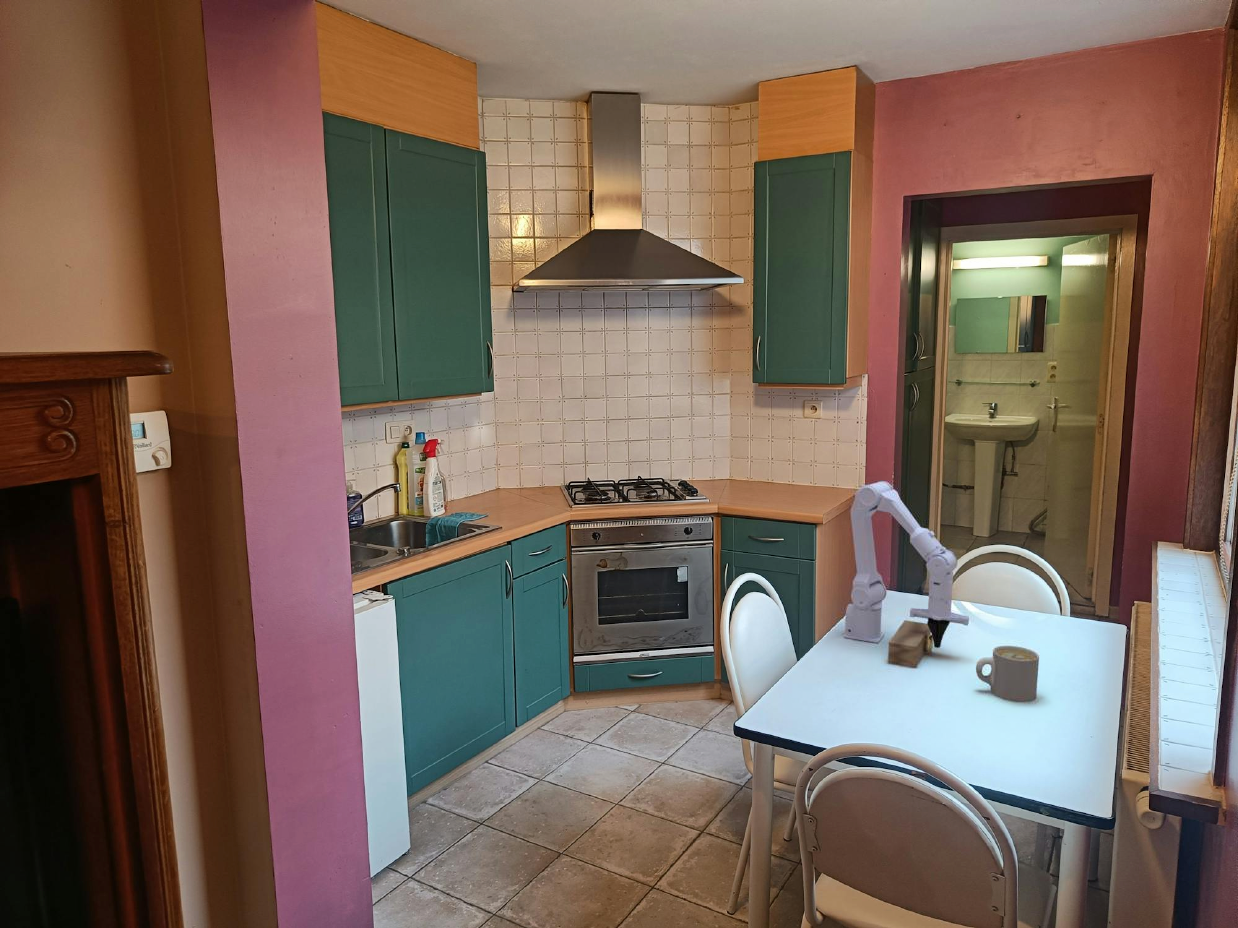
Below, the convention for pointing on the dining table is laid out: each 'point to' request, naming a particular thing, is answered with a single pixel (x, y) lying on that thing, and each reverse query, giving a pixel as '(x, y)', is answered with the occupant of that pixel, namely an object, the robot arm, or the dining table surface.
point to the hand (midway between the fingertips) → (937, 646)
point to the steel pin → (928, 643)
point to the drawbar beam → (908, 644)
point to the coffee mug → (1011, 673)
